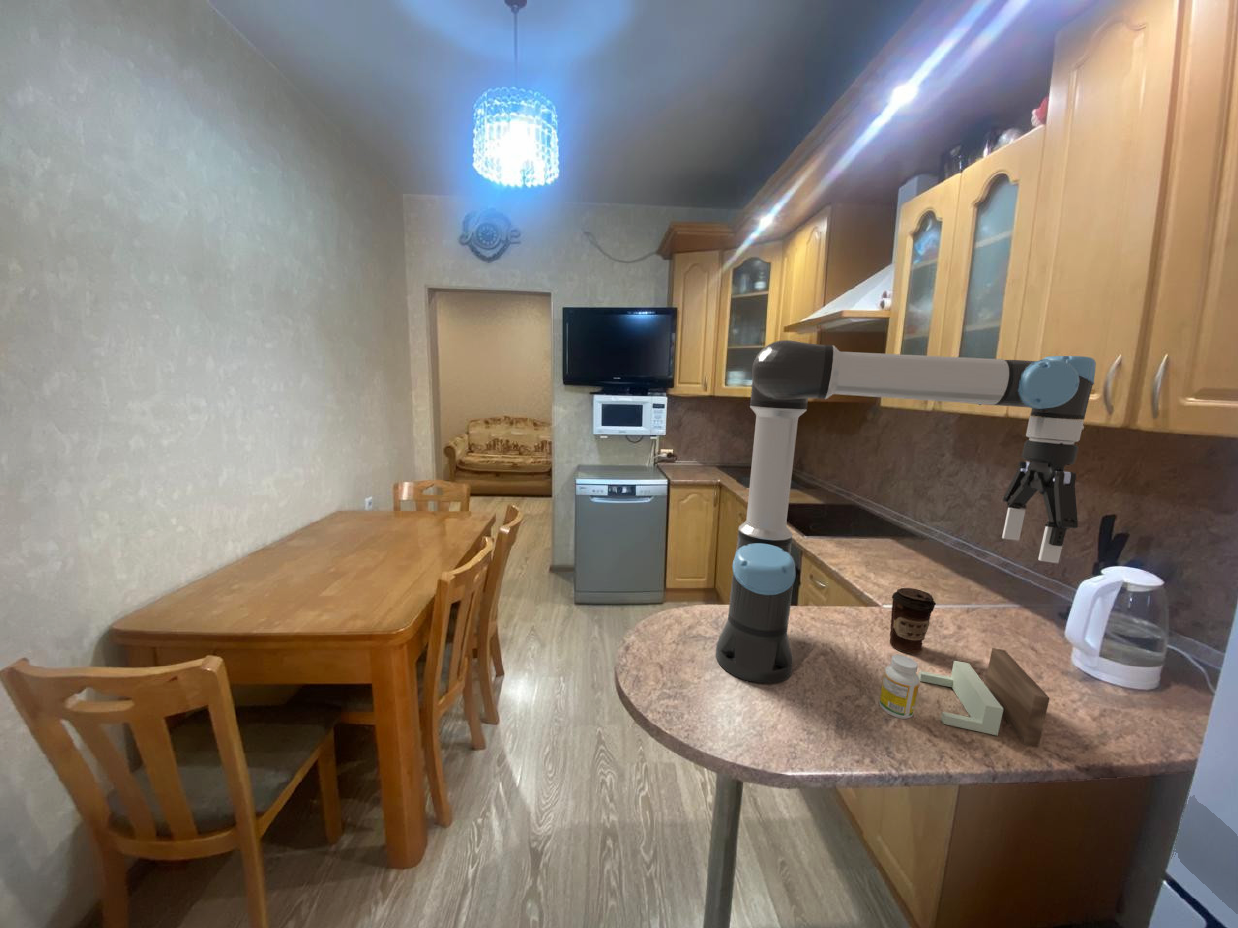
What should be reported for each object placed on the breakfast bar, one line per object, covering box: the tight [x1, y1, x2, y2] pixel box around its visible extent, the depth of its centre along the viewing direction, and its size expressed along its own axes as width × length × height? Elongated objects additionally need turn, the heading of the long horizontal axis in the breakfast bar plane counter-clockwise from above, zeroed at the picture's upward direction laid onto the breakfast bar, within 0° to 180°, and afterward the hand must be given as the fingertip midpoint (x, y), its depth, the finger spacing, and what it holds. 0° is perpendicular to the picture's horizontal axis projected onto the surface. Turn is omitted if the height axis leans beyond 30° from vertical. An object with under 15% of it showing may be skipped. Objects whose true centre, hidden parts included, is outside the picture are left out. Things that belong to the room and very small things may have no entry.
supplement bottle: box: [879, 654, 920, 720], centre depth 85 cm, size 5×5×10 cm
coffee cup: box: [889, 587, 937, 655], centre depth 106 cm, size 9×8×13 cm
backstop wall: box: [984, 647, 1051, 748], centre depth 85 cm, size 2×15×9 cm, turn 164°
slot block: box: [918, 660, 1003, 736], centre depth 88 cm, size 8×14×5 cm, turn 164°
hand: (1027, 549), depth 93 cm, fingers open, 13 cm apart
